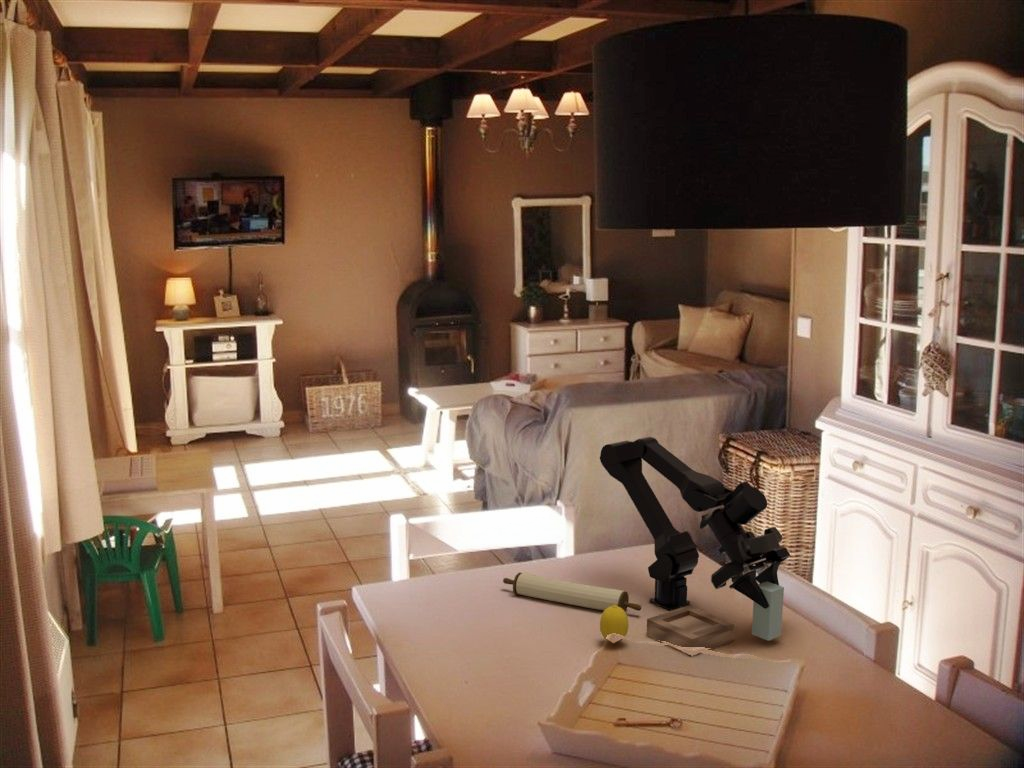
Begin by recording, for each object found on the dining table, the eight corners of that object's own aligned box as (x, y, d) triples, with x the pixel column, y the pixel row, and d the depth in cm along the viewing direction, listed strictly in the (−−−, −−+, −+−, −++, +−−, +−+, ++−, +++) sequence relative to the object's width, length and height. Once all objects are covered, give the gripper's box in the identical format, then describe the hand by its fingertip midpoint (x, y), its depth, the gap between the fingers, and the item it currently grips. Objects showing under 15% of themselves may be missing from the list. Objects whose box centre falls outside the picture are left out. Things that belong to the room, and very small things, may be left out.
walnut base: (646, 635, 206) (647, 618, 206) (688, 621, 214) (688, 605, 213) (691, 656, 197) (692, 639, 196) (733, 640, 204) (734, 624, 204)
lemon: (626, 651, 199) (627, 611, 198) (597, 648, 200) (598, 609, 199) (629, 639, 204) (630, 601, 203) (601, 636, 205) (602, 598, 204)
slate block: (751, 634, 204) (754, 585, 202) (764, 628, 207) (767, 581, 205) (768, 640, 201) (771, 591, 199) (781, 635, 204) (783, 587, 202)
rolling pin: (497, 595, 227) (497, 573, 226) (509, 586, 232) (509, 565, 231) (636, 622, 213) (637, 599, 212) (645, 613, 218) (646, 590, 217)
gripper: (725, 524, 197) (770, 597, 190) (785, 507, 209) (829, 575, 202) (692, 553, 204) (734, 624, 198) (751, 534, 216) (792, 601, 210)
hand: (774, 605), depth 202 cm, fingers closed on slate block, 4 cm apart
